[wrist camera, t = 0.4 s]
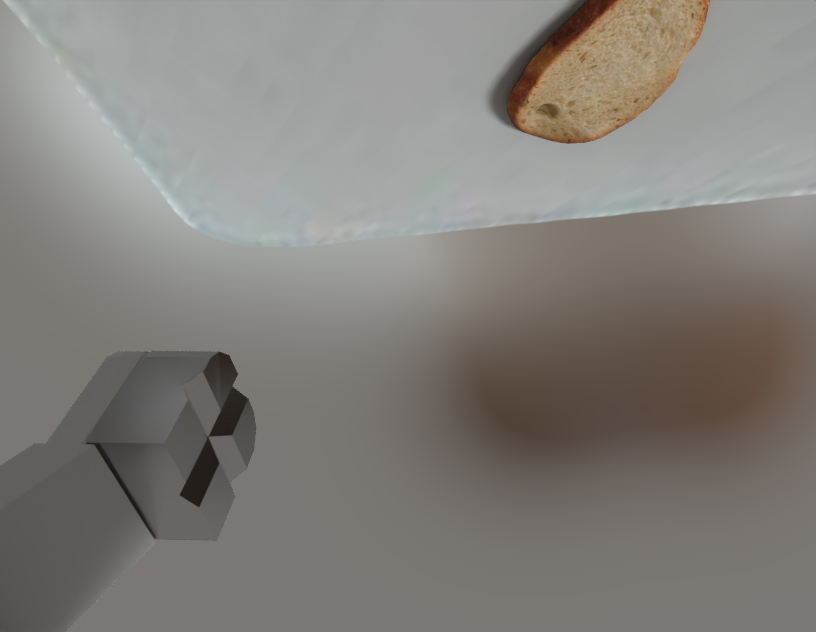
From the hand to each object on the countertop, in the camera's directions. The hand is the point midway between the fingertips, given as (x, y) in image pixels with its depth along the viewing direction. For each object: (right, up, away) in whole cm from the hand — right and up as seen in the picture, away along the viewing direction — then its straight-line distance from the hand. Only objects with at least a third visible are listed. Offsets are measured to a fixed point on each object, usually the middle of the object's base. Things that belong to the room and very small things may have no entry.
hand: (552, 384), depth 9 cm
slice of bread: (+15, +24, +55) cm, 62 cm away
